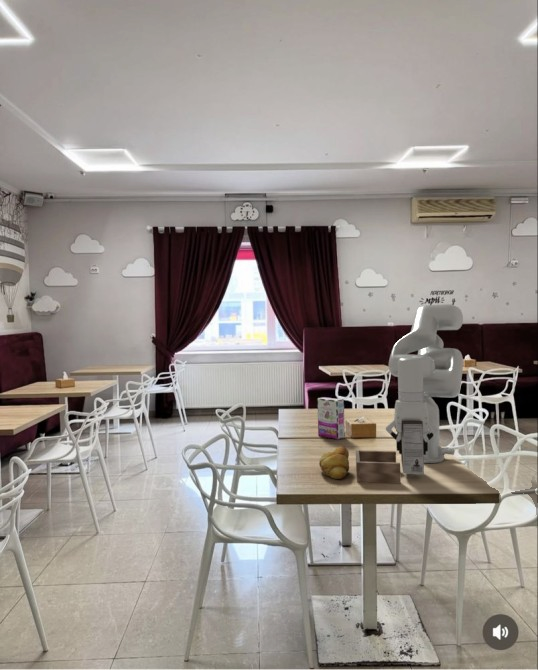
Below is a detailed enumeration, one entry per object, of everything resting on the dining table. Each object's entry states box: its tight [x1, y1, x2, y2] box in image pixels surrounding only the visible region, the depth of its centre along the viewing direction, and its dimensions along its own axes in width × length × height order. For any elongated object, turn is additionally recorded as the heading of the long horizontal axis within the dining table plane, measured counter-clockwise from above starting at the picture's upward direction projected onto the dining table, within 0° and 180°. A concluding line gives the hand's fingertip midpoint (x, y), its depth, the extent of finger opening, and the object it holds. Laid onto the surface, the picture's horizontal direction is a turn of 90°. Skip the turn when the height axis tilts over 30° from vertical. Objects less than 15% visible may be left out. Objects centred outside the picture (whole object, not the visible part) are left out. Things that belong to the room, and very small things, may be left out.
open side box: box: [355, 449, 401, 484], centre depth 141 cm, size 13×13×6 cm
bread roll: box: [318, 445, 350, 480], centre depth 144 cm, size 13×10×8 cm
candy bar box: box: [317, 396, 346, 440], centre depth 190 cm, size 11×5×16 cm, turn 42°
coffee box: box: [400, 421, 425, 475], centre depth 140 cm, size 9×6×16 cm
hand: (412, 452), depth 140 cm, fingers closed on coffee box, 6 cm apart
